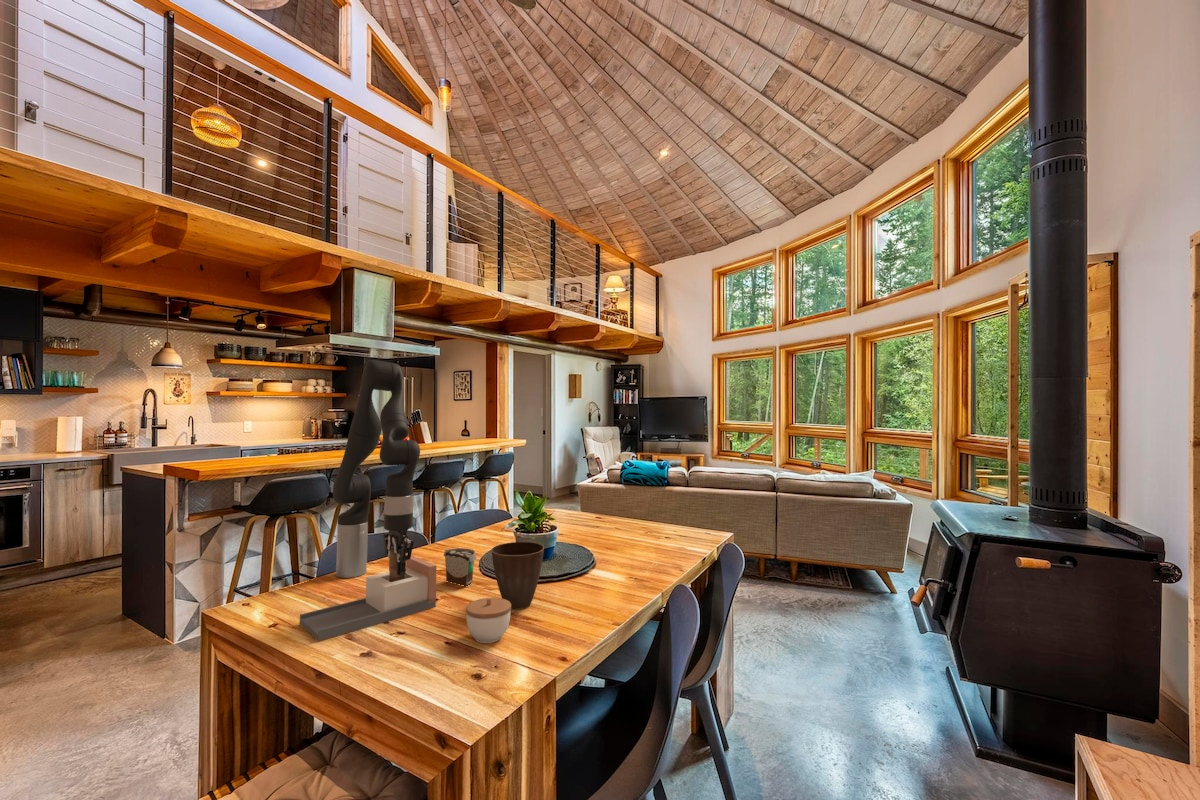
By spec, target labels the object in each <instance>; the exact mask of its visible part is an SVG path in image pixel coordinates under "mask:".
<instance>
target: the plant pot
mask: <svg viewBox="0 0 1200 800" xmlns="http://www.w3.org/2000/svg"><path fill="white" fill-rule="evenodd" d="M544 552H545V546H544V545H542V544H540V543H537V542H530V541H514V542H513V541H512V542H506V543H501V544H498V545H495V546H493V547H492V548H491V559H492V564H493V570H494V571H493V572H494V574H495V579H496V583H497V584H496V585H497V588H498V590H499V591H498V592H499V594H500V596H501V598H502V599H505V600H508V601H509V602H510V603H511V610H522V608H523V609H526V608H528V607H530V606H531V605H532V602H533V600H534V599H533V598H534V596H535V593H536V591H537V588H538V586H537V585H538V583H539V580H540V576H541V570H542V565H543V558H544Z"/></svg>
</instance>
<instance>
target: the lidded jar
mask: <svg viewBox="0 0 1200 800" xmlns="http://www.w3.org/2000/svg"><path fill="white" fill-rule="evenodd" d="M511 611H512V609H511V603H510V602H509V601H508V600H505V599H502V597H501V598H500V597H486V598H485V597H484V598H479V599H476V600H473V601H470V602H469V603H467V605H466V607H465V613H466V616H465V617H466V619H465V620H466V626H467V629H468V632H469V634H470V635H471V637H472V638H473V639H475V641H476V642H477V643H480V644H494V643H496V642H499V640H501V638H502V637H503V635H504V634H505V633H506V632H507V630H508V628H509V625H510V621H511Z"/></svg>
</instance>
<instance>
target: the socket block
mask: <svg viewBox="0 0 1200 800" xmlns="http://www.w3.org/2000/svg"><path fill="white" fill-rule="evenodd" d="M365 581H366V582H365V598H366V603H367V604H369V605H371V606H372V607H374V608H375V609H377V610H378V611H380V612H384V611H387V610H391V609H394V608H398V607H402V606H405V605H409V604H412V603H416V602H419V601H423V600H427V595H428V577H427V576H425V575H423V574H421V573H418V572H416V571H414V570H412V569H410V568H406V573H405V579H402V580H398V581H394V582H390V581H389V571H387V572H382V573H378V574H373V575H368V576H366V577H365Z"/></svg>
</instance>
